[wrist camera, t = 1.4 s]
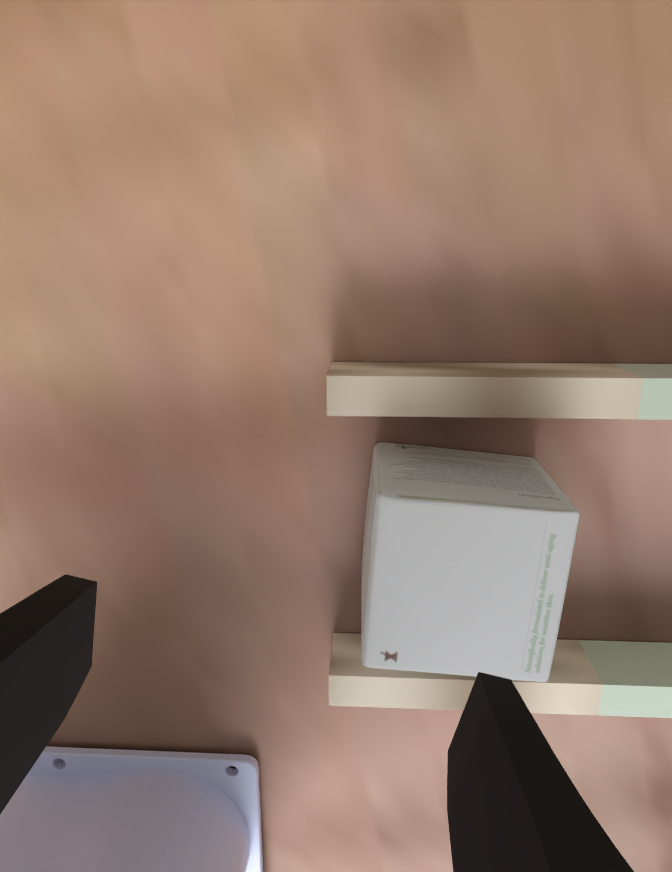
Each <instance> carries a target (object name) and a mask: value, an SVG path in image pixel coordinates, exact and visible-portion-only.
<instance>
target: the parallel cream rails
mask: <svg viewBox="0 0 672 872" xmlns="http://www.w3.org/2000/svg"><path fill="white" fill-rule="evenodd" d="M326 379H327V416H386V417H477V418H569V419H660V420H672V364H602V363H441V362H332V363H331V365H330V368H329V371H328V373H327V376H326ZM475 679H476V677H474V676H464V675H452V674H442V673H430V672H417V671H402V670H392V669H380V668H370V667H366V666H364V665H363V664H362V656H361V633H333V640H332V649H331V659H330V668H329V706H356V707H383V708H411V709H438V710H464V708H465V705H466V703H467V700H468V698H469V695H470V692H471V690H472V687H473V685H474V682H475ZM512 682H513V684H514V685H515V687H516V689H517V690H518V692H519V694H520V695H521V697H522V699H523V701H524V702H525V704H526V706H527V708H528V709H529V711H530V713H548V714H575V715H603V716H630V717H658V718H672V643H661V642H628V641H594V640H561V639H557V641H556V646H555V651H554V657H553V661H552V666H551V670H550V675H549V679H548V680H547V681H546V682H537V681H522V680H512Z"/></svg>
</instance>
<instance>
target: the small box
mask: <svg viewBox="0 0 672 872" xmlns="http://www.w3.org/2000/svg"><path fill="white" fill-rule="evenodd" d="M579 517H580V512H579V511H578V510H577V509H576V507H575V506H574V505H573V504H572V502H571V501H570V500H569V499H568V498H567V496H566V495H565V494H564V493H563V491H562V490H561V489H560V488H559V487H558V486H557V484H556V483H555V482H554V481H553V479H552V478H551V477H550V476H549V475H548V474H547V472H546V471H545V470H544V469H543V468H542V466H541V465H540V464H539V463H538V461H537V460H536V459H535V458H532V457H523V456H514V455H504V454H495V453H485V452H476V451H466V450H456V449H448V448H438V447H429V446H419V445H408V444H395V443H386V442H379V443H377V444H376V445H375V447H374V451H373V457H372V464H371V473H370V481H369V489H368V498H367V508H366V519H365V531H364V543H363V558H362V580H361V586H362V593H361V606H362V608H361V656H362V664H363V665H364V666H366V667H370V668H380V669H392V670H402V671H417V672H430V673H442V674H452V675H464V676H474V677H477V674H478V672H481V673H486V674H490V675H494V676H498V677H503V678H507V679H511V680H522V681H537V682H546V681H547V680H548V679H549V675H550V670H551V666H552V661H553V657H554V651H555V646H556V641H557V636H558V631H559V625H560V620H561V615H562V610H563V604H564V599H565V594H566V588H567V583H568V577H569V571H570V566H571V560H572V555H573V549H574V544H575V538H576V533H577V527H578V521H579Z"/></svg>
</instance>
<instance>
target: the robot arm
mask: <svg viewBox="0 0 672 872" xmlns="http://www.w3.org/2000/svg"><path fill="white" fill-rule="evenodd" d="M96 591H97V582H95V581H91V580H87V579H83V578H78V577H74V576H70V575H66V574H65V575H64V576H62V577H60V578H59V579H57V580H55V581H53V582H52V583H50V584H48V585H47V586H45V587H43V588H42V589H40V590H38V591H37V592H35V593H33V594H32V595H30V596H28V597H27V598H25V599H24V600H22V601H20V602H19V603H17V604H15V605H14V606H12V607H10V608H9V609H7V610H6V611H4V612H2V613H1V614H0V872H263V853H262V831H261V809H260V787H259V765H258V762H257V760H256V759H255V758H254V757H252V756H250V755H242V754H217V753H193V752H169V751H144V750H120V749H95V748H71V747H47V744H48V743H49V741H50V740H51V738H52V737H53V735H54V734H55V732H56V731H57V729H58V728H59V726H60V725H61V723H62V722H63V720H64V718H65V717H66V715H67V713H68V711H69V709H70V707H71V705H72V704H73V702H74V700H75V698H76V696H77V694H78V692H79V690H80V688H81V686H82V684H83V682H84V680H85V678H86V676H87V674H88V672H89V670H90V668H91V665H92V650H93V635H94V621H95V606H96ZM60 759H62V760H63V761H61V760H60ZM229 766H235V767H236V768H237V769H233V768H230V767H229ZM447 811H448V822H449V832H450V842H451V852H452V862H453V871H454V872H634V871H633V870H632V869H631V867H630V866H629V864H628V863H627V862H626V860H625V859H624V858H623V856H622V855H621V854H620V852H619V851H618V850H617V848H616V847H615V845H614V844H613V843H612V841H611V840H610V838H609V837H608V835H607V834H606V832H605V831H604V830H603V828H602V827H601V825H600V824H599V822H598V821H597V820H596V818H595V817H594V815H593V814H592V812H591V811H590V809H589V808H588V806H587V805H586V803H585V802H584V800H583V799H582V797H581V796H580V794H579V792H578V791H577V789H576V788H575V786H574V784H573V783H572V781H571V780H570V778H569V776H568V775H567V773H566V772H565V770H564V768H563V767H562V765H561V764H560V762H559V760H558V759H557V757H556V755H555V754H554V752H553V750H552V749H551V747H550V745H549V744H548V742H547V740H546V739H545V737H544V735H543V733H542V732H541V730H540V728H539V727H538V725H537V723H536V721H535V720H534V718H533V716H532V715H531V713H530V711H529V709H528V708H527V706H526V704H525V702H524V701H523V699H522V697H521V695H520V694H519V692H518V690H517V689H516V687H515V685H514V684H513V682H512V680H511V679H507V678H503V677H498V676H494V675H490V674H486V673H481V672H478V674H477V677H476V679H475V682H474V685H473V687H472V690H471V692H470V695H469V698H468V700H467V703H466V705H465V708H464V711H463V713H462V716H461V718H460V721H459V724H458V726H457V729H456V731H455V734H454V737H453V739H452V742H451V744H450V747H449V750H448V774H447Z"/></svg>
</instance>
